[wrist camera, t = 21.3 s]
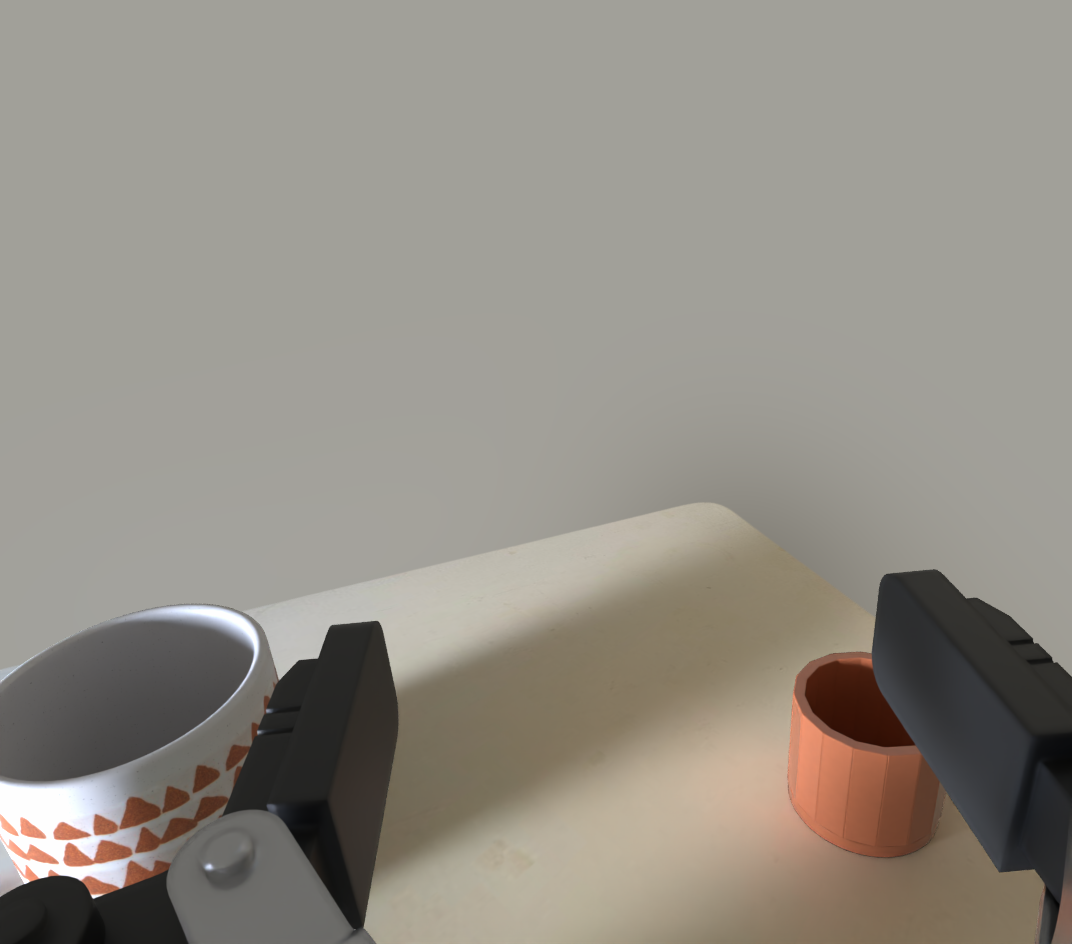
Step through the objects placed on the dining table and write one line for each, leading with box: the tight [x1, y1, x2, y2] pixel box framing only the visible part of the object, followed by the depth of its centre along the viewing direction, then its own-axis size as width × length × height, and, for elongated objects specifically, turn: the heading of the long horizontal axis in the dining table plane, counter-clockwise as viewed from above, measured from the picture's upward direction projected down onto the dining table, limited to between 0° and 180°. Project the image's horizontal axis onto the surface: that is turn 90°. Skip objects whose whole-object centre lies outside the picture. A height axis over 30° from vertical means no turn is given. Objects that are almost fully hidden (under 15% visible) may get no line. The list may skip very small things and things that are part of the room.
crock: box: [787, 652, 946, 857], centre depth 41 cm, size 8×8×7 cm
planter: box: [0, 604, 279, 898], centre depth 40 cm, size 14×14×13 cm
